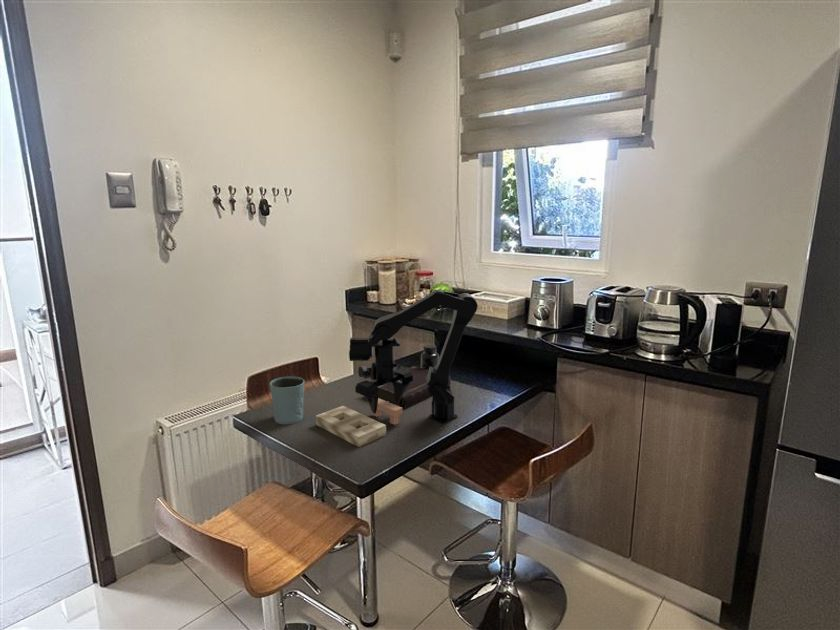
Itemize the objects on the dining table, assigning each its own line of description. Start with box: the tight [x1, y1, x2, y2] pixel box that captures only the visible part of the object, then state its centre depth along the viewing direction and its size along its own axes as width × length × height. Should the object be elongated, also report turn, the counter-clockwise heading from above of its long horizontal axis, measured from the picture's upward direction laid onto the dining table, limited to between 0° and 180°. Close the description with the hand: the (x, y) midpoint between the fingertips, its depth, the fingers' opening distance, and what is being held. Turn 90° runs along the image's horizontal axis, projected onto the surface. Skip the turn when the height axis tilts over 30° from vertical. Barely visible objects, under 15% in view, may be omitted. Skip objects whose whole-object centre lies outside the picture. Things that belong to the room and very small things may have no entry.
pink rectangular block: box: [368, 398, 404, 426], centre depth 150 cm, size 12×3×5 cm, turn 46°
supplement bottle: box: [420, 344, 440, 370], centre depth 186 cm, size 7×7×12 cm
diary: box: [371, 366, 452, 410], centre depth 173 cm, size 19×25×5 cm
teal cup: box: [269, 376, 306, 425], centre depth 151 cm, size 10×10×12 cm
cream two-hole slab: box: [315, 405, 387, 448], centre depth 144 cm, size 20×10×3 cm, turn 46°
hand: (385, 408), depth 150 cm, fingers open, 9 cm apart
